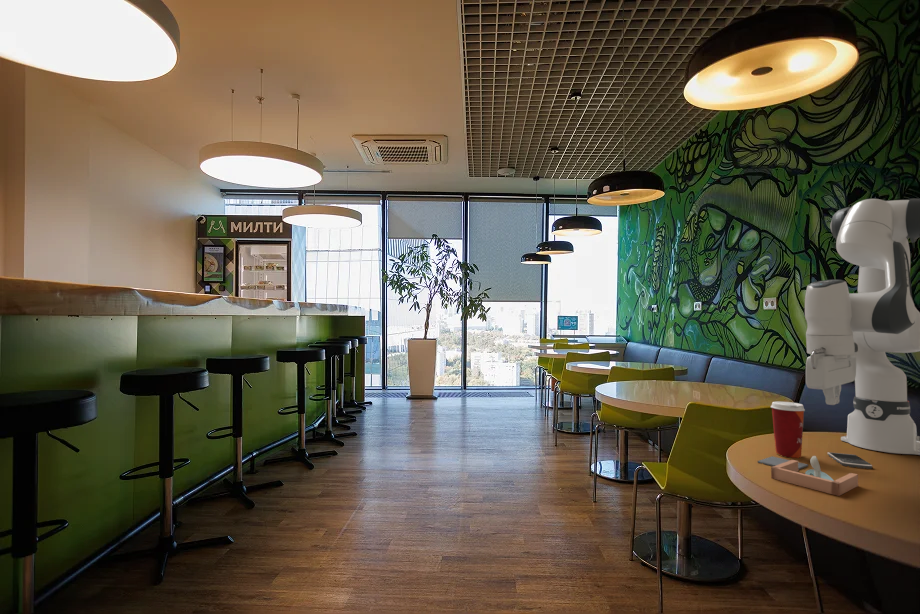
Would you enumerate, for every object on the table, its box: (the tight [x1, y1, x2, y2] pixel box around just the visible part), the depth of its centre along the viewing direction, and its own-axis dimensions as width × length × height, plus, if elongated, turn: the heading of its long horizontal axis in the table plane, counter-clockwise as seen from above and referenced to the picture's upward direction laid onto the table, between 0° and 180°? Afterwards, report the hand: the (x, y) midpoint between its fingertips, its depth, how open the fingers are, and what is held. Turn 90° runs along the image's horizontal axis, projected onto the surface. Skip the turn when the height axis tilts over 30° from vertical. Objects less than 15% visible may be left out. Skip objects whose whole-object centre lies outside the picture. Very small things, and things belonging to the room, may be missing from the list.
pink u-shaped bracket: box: [770, 459, 859, 497], centre depth 101 cm, size 11×12×2 cm
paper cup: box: [770, 401, 806, 459], centre depth 122 cm, size 8×8×14 cm
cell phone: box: [827, 451, 873, 470], centre depth 116 cm, size 6×11×1 cm, turn 158°
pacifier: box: [804, 455, 835, 481], centre depth 99 cm, size 7×6×6 cm
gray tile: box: [757, 455, 809, 471], centre depth 113 cm, size 8×8×1 cm
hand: (832, 404), depth 107 cm, fingers closed
